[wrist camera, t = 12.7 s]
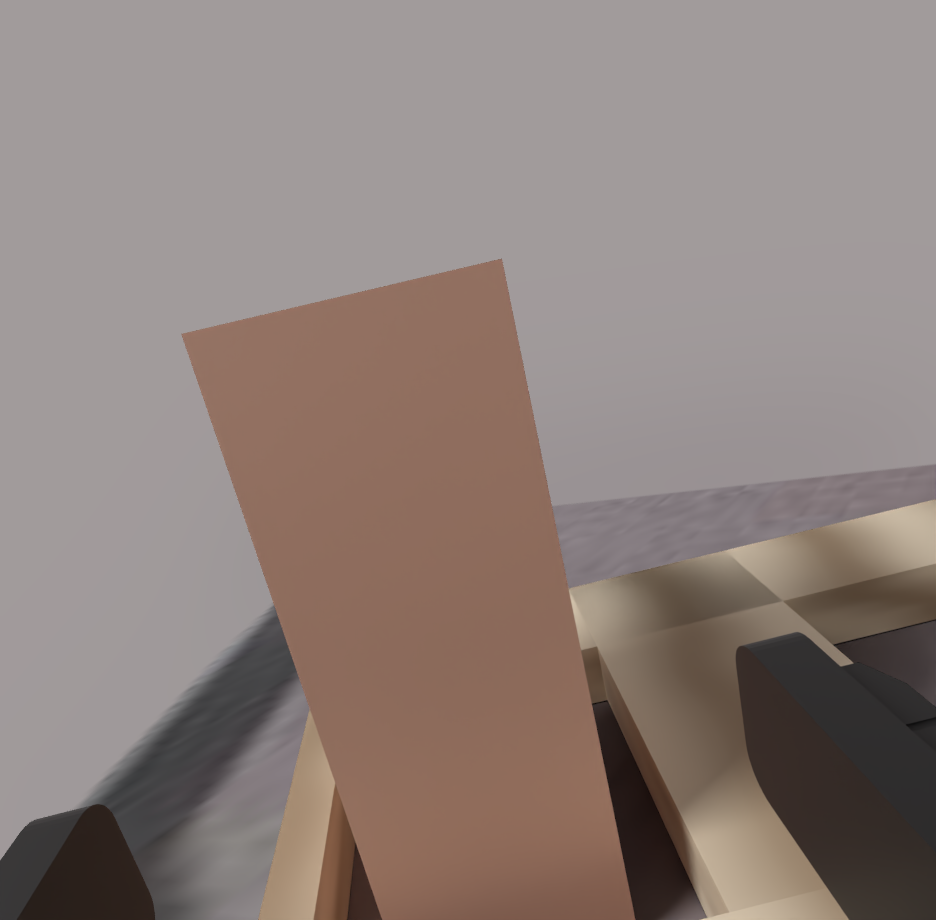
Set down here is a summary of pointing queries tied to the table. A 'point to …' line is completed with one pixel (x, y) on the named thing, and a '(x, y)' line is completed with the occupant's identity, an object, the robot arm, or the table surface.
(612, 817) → the block
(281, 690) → the table surface
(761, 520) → the table surface
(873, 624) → the puzzle board
